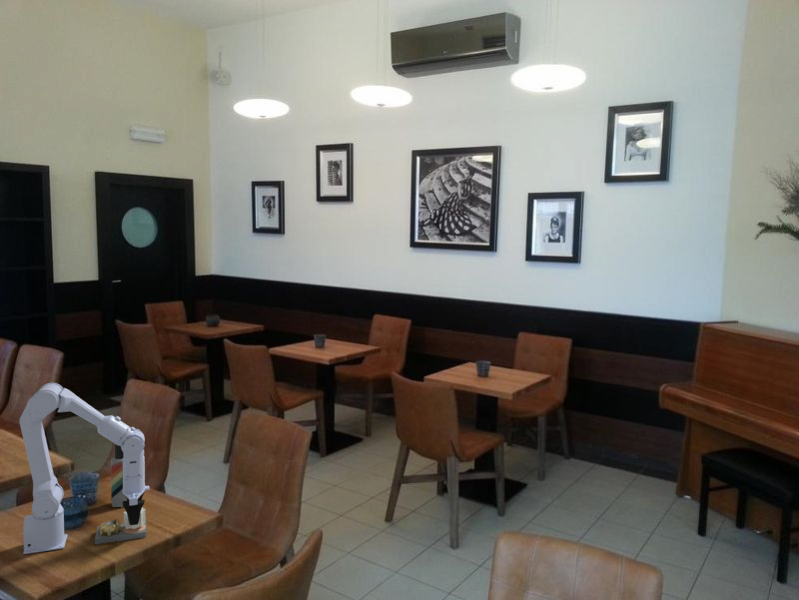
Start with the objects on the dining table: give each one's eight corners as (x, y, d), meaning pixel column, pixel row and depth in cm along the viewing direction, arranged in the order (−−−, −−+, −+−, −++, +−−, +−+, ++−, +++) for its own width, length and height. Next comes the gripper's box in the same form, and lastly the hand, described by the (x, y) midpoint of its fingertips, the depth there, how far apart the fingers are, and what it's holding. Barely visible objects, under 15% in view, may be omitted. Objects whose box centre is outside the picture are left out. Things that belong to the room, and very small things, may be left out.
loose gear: (123, 530, 168) (123, 516, 168) (124, 521, 174) (124, 508, 173) (145, 527, 171) (145, 513, 170) (145, 518, 176) (145, 505, 176)
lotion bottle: (112, 501, 193) (112, 440, 192) (132, 499, 195) (131, 439, 193) (110, 508, 188) (109, 446, 186) (129, 507, 190) (129, 445, 188)
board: (94, 544, 165) (94, 527, 165) (97, 531, 173) (97, 515, 172) (146, 537, 170) (145, 520, 170) (146, 525, 178) (146, 508, 177)
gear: (97, 537, 166) (97, 526, 166) (99, 528, 171) (99, 517, 171) (120, 534, 168) (120, 523, 168) (121, 525, 174) (121, 514, 173)
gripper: (148, 481, 166) (149, 528, 167) (149, 463, 179) (149, 507, 180) (120, 484, 163) (121, 532, 164) (123, 466, 176) (123, 510, 178)
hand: (134, 519), depth 172 cm, fingers closed on loose gear, 6 cm apart
